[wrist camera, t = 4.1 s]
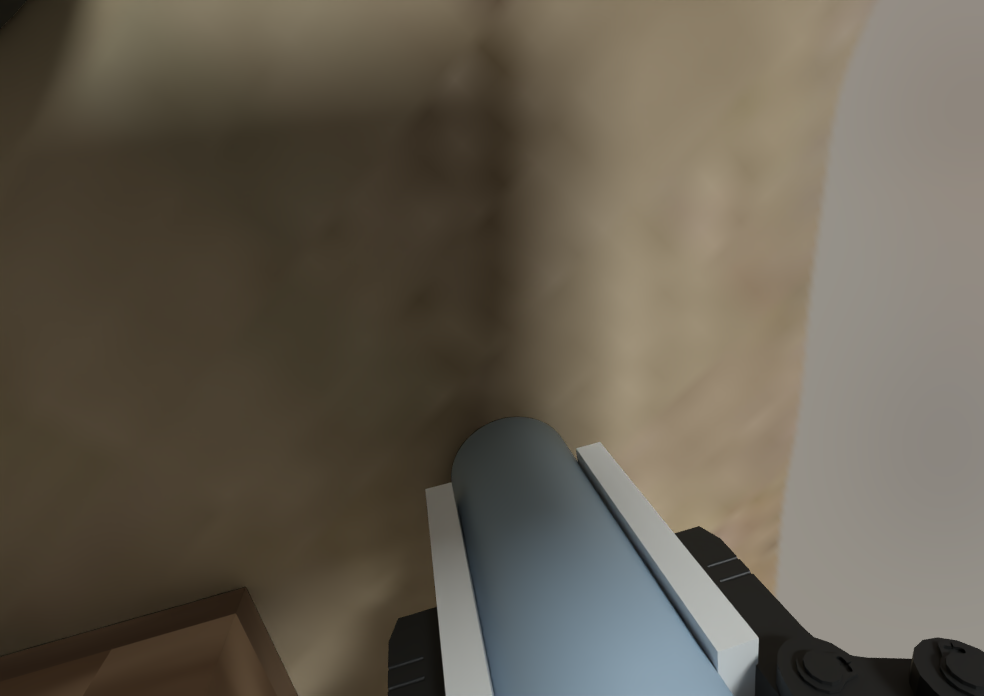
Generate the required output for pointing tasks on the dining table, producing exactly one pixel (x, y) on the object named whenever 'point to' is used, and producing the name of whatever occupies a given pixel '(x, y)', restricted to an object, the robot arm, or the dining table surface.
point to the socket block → (158, 656)
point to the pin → (563, 578)
